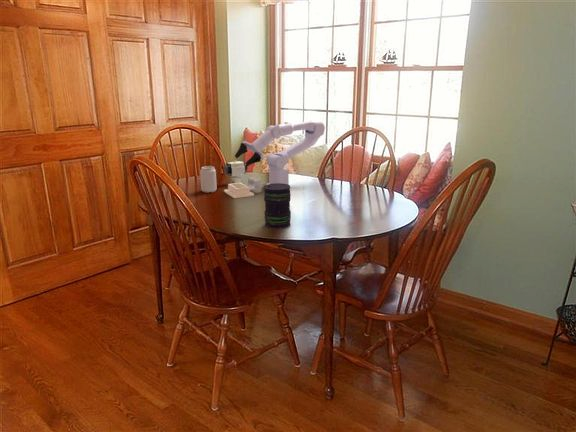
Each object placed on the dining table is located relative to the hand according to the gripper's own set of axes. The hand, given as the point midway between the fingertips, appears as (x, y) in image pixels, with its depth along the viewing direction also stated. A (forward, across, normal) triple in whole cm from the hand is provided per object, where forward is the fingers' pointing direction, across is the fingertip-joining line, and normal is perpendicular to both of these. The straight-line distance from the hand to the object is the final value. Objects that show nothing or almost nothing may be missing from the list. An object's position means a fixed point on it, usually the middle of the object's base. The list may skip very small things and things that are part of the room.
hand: (240, 160), depth 226 cm
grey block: (+4, +10, +12) cm, 16 cm away
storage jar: (+21, +50, -22) cm, 59 cm away
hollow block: (+11, +8, +7) cm, 16 cm away
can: (+19, -6, +10) cm, 22 cm away
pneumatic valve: (+3, -7, +22) cm, 24 cm away
